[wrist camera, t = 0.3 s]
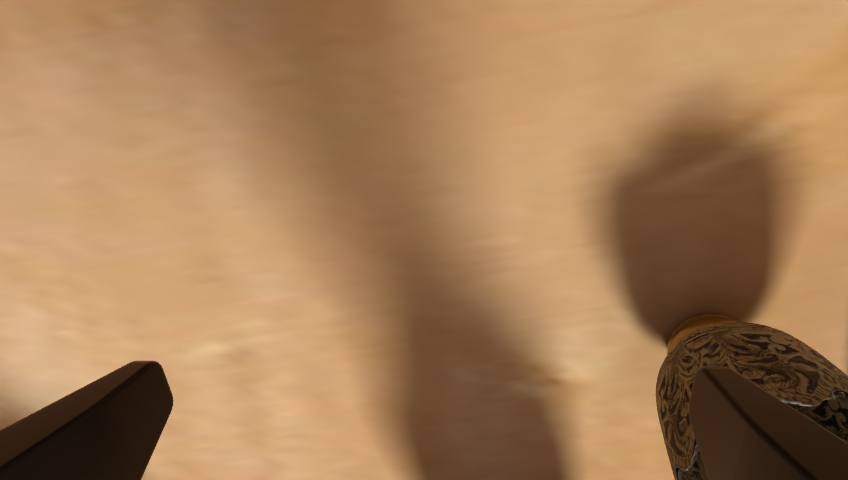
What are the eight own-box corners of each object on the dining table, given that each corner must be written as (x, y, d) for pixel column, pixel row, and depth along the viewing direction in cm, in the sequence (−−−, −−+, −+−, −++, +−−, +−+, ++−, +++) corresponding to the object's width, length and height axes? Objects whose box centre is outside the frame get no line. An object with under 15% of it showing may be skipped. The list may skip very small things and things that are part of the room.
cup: (736, 240, 21) (867, 365, 14) (819, 346, 23) (971, 503, 16) (589, 331, 24) (638, 475, 17) (675, 420, 26) (750, 581, 19)
